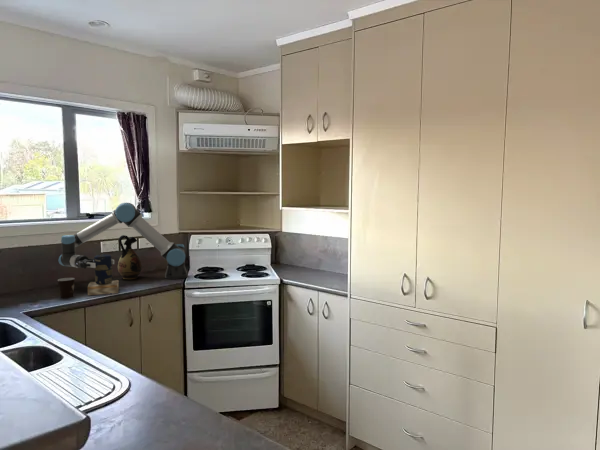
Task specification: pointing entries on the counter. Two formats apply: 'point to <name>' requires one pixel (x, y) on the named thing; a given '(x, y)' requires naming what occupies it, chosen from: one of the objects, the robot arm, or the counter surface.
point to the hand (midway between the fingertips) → (104, 263)
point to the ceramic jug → (129, 260)
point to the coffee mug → (66, 287)
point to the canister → (103, 269)
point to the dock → (103, 288)
